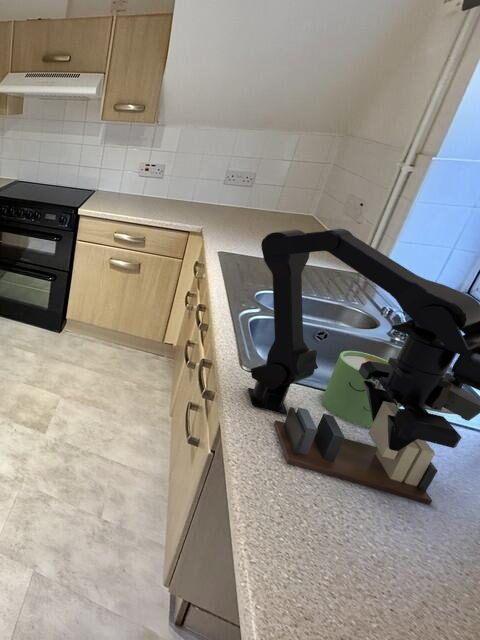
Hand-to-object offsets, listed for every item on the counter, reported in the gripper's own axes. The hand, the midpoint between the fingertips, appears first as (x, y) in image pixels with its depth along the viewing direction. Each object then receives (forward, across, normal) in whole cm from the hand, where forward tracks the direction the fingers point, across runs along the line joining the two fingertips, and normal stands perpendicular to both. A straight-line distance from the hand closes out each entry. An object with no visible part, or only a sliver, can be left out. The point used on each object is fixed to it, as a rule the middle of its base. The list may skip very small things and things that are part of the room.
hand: (384, 437), depth 74 cm
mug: (+8, +18, -4) cm, 20 cm away
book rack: (+7, 0, +4) cm, 8 cm away
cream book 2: (+6, 0, -2) cm, 7 cm away
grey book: (+6, 0, +11) cm, 13 cm away
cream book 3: (+6, 0, -4) cm, 7 cm away
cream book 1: (+2, 0, 0) cm, 2 cm away
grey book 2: (+6, 0, +7) cm, 10 cm away
